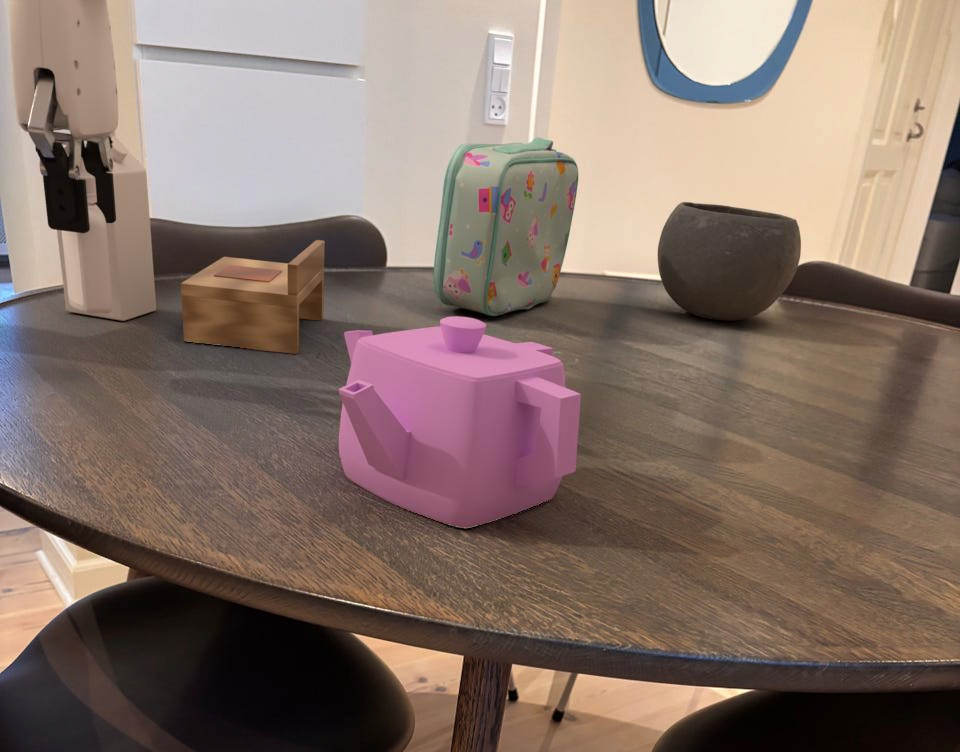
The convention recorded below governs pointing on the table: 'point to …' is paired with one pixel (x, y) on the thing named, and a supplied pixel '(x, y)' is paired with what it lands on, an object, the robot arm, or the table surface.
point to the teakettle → (456, 421)
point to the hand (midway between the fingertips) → (83, 223)
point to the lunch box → (504, 225)
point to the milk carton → (126, 241)
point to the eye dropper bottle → (88, 258)
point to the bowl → (727, 259)
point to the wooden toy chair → (254, 301)
